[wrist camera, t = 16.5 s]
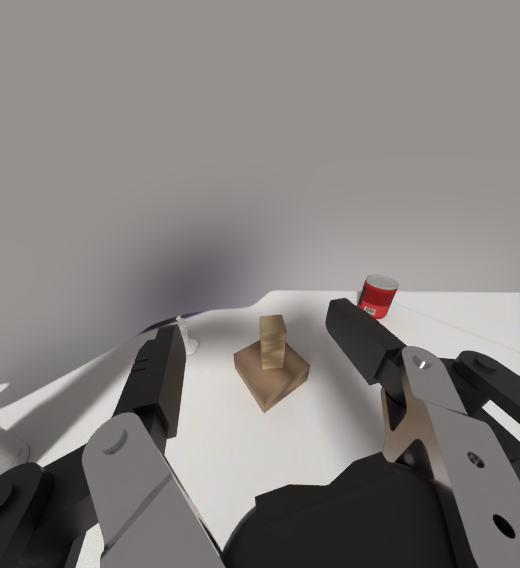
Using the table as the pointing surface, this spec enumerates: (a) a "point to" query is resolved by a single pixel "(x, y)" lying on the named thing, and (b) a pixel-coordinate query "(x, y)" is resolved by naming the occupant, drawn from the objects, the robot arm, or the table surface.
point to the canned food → (377, 295)
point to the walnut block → (270, 375)
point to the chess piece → (190, 344)
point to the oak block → (272, 341)
